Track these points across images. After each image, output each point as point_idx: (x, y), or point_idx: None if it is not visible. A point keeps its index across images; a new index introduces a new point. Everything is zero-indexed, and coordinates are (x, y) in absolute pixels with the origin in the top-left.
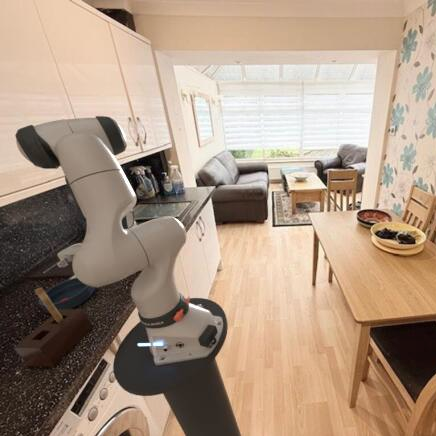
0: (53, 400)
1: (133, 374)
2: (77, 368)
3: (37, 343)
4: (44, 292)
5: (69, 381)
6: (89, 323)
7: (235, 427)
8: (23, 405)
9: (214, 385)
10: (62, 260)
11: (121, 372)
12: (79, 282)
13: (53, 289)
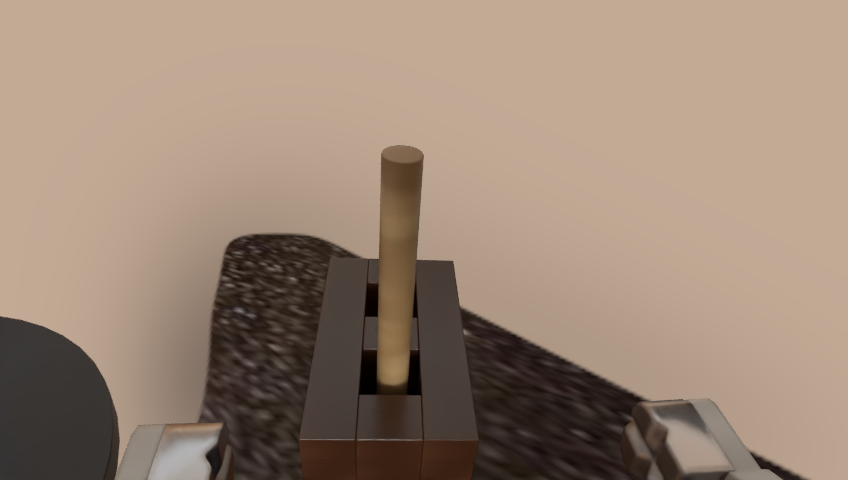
0: (242, 274)
1: (6, 356)
2: (230, 342)
3: (362, 270)
4: (381, 191)
5: (229, 310)
6: None
7: None
8: (325, 266)
9: None
10: (746, 471)
11: (58, 360)
12: None
13: None
